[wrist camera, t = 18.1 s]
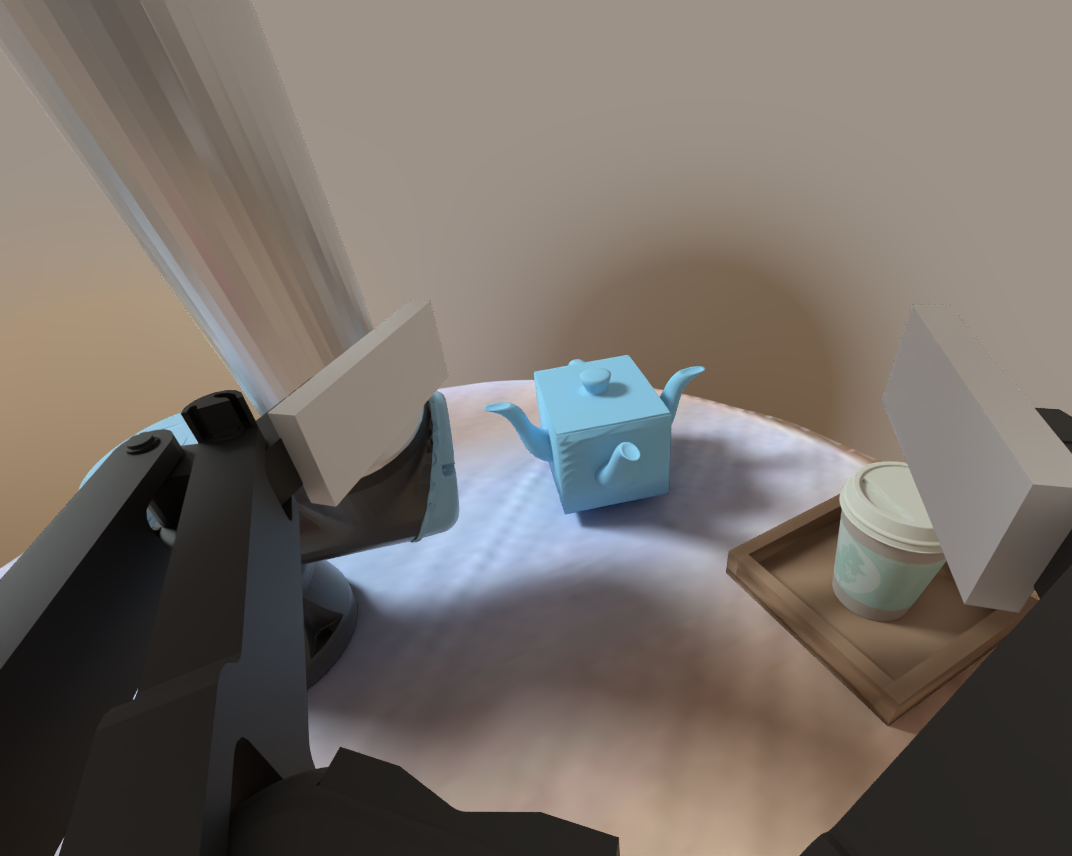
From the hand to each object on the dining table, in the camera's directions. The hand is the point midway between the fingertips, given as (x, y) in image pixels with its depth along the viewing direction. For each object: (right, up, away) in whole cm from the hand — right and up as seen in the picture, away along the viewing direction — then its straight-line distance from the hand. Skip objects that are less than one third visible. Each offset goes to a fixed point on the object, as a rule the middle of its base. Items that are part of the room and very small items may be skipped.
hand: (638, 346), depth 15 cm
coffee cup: (+26, -17, +31) cm, 44 cm away
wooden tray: (+26, -17, +31) cm, 45 cm away
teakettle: (+5, -9, +48) cm, 49 cm away
